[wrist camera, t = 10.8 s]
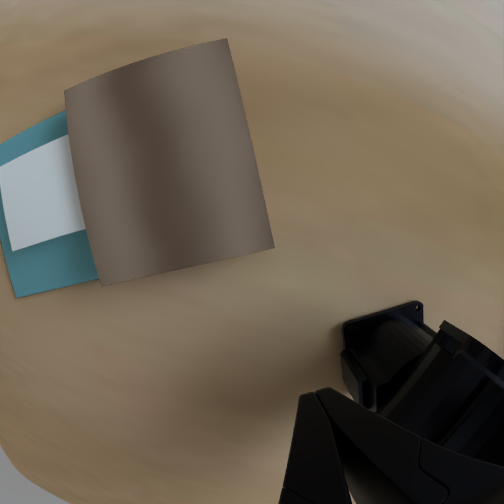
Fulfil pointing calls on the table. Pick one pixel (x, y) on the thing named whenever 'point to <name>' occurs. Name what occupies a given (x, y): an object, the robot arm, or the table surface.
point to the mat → (52, 251)
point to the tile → (41, 195)
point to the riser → (166, 164)
